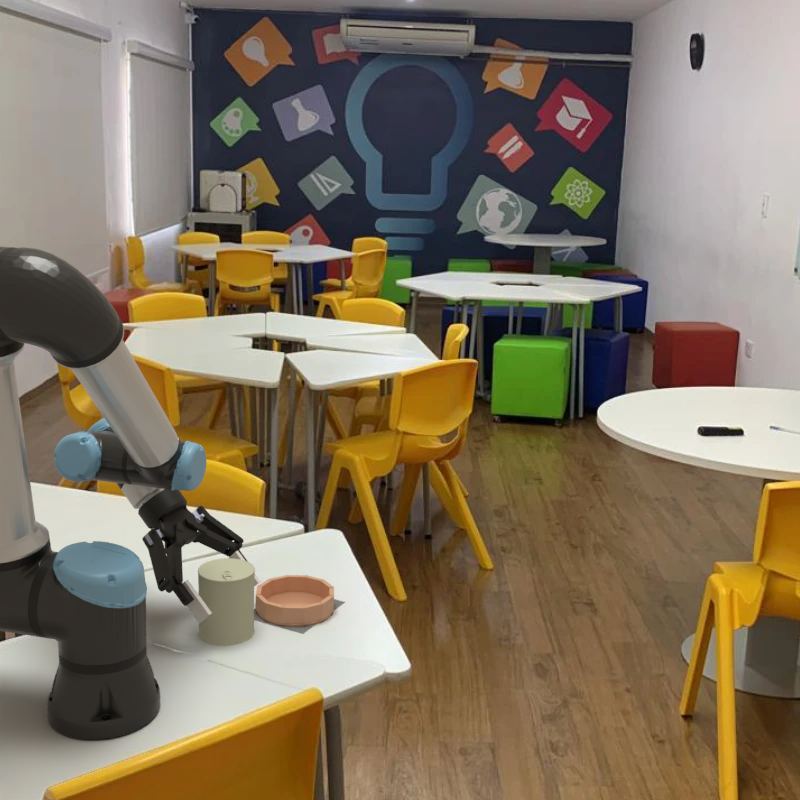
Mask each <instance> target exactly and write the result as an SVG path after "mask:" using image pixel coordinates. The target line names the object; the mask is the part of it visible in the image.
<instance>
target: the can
mask: <svg viewBox="0 0 800 800" xmlns="http://www.w3.org/2000/svg"><path fill="white" fill-rule="evenodd" d="M247 561H248V560H247ZM247 561H245V560H241V559H232V558H229V557H227V558H217V559H212V560H208V561H206V562H204V563H202V564H201V565H199V567H198V569H197V576H198V577H197V578H198V581H197V582H198V584H197V585H198V594H199V596H200V597H201V598H202V600H203V601H204V603H205V604H206V605H207V607H208V608H209V610H210V611H211V612H212V614H210V615H209V616H208V617H207V618H206V619H204V620H203V621H202V622H201V623H199V622H198V631H197V636H198V638H199V639H200V640H201V641H203V643H206V644H209V645H212V646H220V647H221V646H224V647H226V646H228V647H229V646H235V645H240V644H243V643H245V642H247V641H250V640H251V639H252V638H253V636H254V635H255V620H254V609H255V587H254V575H255V574H256V568H255V566H254V565H253V564H252V563H251V562H250V561H248V562H247Z"/></svg>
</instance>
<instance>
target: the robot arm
mask: <svg viewBox="0 0 800 800" xmlns="http://www.w3.org/2000/svg"><path fill="white" fill-rule="evenodd" d="M124 335H125V328H124V324H123V321H122V320H121V318H120V316H119V315H118V313H117V311H116V309H115V307H114V305H112V303H111V302H110V301H109V299H108V297H107V296H106V295H105V293H103V292H102V291H101V289H99V287H98V286H97V285H95V284H94V283H93V282H92V281H91V280H90V279H89V277H87V276H86V275H85V274H83V273H82V272H81V271H80V270H79V269H78V268H76V267H75V266H73V265H72V264H71V263H69V262H68V261H66V260H65V259H63V258H61V257H59V256H57V255H55V254H53V253H51V252H48V251H46V250H42V249H39V248H33V247H23V246H22V247H9V246H0V632H5V633H12V634H18V635H24V636H31V637H37V638H43V639H44V638H45V639H48V640H49V639H50V640H56V641H57V648H58V666H57V670H56V672H55V675H54V678H53V679H54V680H53V682H52V687H51V690H50V692H49V693H48V694H49V695H48V696H47V697H48V698H47V703H46V705H47V707H46V708H47V720H48V723H49V725H50V727H52V728H53V730H54V731H56V732H57V733H60V734H61V735H64V736H66V737H70V738H72V739H73V738H74V739H80V740H107V739H113V738H117V737H118V738H119V737H120V736H121V737H122V736H124V735H128V734H131V733H133V732H135V731H137V730H140V729H141V728H143V727H145V726H147V725H148V724H149V723H150V722H151V721H153V720H154V719H155V717H156V716H157V715H158V714H159V711H160V710H161V709H160V708H161V689H160V685H159V682H158V680H157V679H156V678H155V674H154V670H153V667H152V665H151V663H150V662H151V661H150V660H149V657H148V654H147V650H148V649H147V606H146V605H147V590H148V587H147V582H146V576H145V567H144V565H143V564H144V563H143V562H142V560H141V558H140V557H139V556H138V555H137V554H136V553H135V552H134V551H133V550H131V549H129V548H127V547H125V546H122V545H120V544H117V543H112V542H109V541H108V542H107V541H101V540H97V541H96V540H95V541H94V540H93V541H92V542H88V541H81V542H80V541H79V542H75V543H71V544H68V545H66V546H64V547H63V548H61V549H60V550H59V551H54V550H52V545H51V539H50V531H49V529H48V528H47V527H46V526H45V525H44V524H42V523H40V522H39V521H37V520H36V514H35V506H34V500H33V492H32V485H31V478H30V477H31V476H30V470H29V463H28V462H29V461H28V455H27V448H26V441H25V435H24V427H23V426H24V425H23V418H22V412H21V411H22V410H21V405H20V404H21V403H20V397H19V390H18V383H17V375H16V374H17V373H16V368H15V359H16V358H17V356H19V354H20V353H21V352H22V351H23V350H24V349H25V344H27V345H31V346H33V347H34V346H35V347H38V348H41V349H43V350H45V351H46V352H48V353H49V354H50V355H51V357H52V358H53V360H55V362H56V363H58V364H59V365H60V366H61V367H64V368H66V369H70V370H71V371H72V373H73V374H74V376H75V378H76V380H78V381H79V383H80V385H81V386H82V387H83V389H84V390H85V392H86V393H87V395H88V396H89V397H90V399H91V401H92V402H93V404H94V405H95V406H96V408H97V410H98V412H100V414H101V416H102V417H103V418H101V419H99V420H98V421H97V422H95V423H94V424H92V425H91V426H90V427H89V428H88V429H87V431H84V430H83V431H82V430H81V431H78V432H74V433H69V434H67V435H66V436H64V437H62V438H61V440H59V442H58V443H57V445H56V447H55V449H54V452H53V462H54V466H55V468H56V470H57V471H56V472H57V473H58V474H59V475H60V476H61V477H62V478H63V479H65V480H67V481H70V482H74V483H76V482H77V483H80V482H81V483H88V482H90V481H99V482H104V483H105V482H106V483H113V484H114V483H115V484H116V485H117V486H118V489H120V490H121V492H122V494H123V495H124V496H125V498H126V499H127V501H128V503H130V505H131V506H132V508H133V509H135V510H138V513H137V514H138V515H139V517H140V518H141V520H142V521H143V522H144V524H145V526H146V527H147V528H148V529H150V530H149V531H148V532H147V533H146V534H145V535H144V536H142V541H143V543H144V545H145V546H146V548H147V550H148V555H149V558H150V561H151V566H152V570H153V574H154V577H155V581H156V584H157V588H158V590H159V591H160V592H164V591H165V592H166V593H167V594H170V593H172V592H174V594H175V596H176V597H177V599H178V600H179V601H180V602H181V604H182V605H183V606H185V607H187V608H188V610H189V611H190V612H191V614H192V616H193V617H194V618H195V619H196V621H197V622H198V624H199V623H201V622H202V621H203V620H204V619H206V618H207V617H208V616H209V615H210V614H212V612H211V611H210V610H209V608H208V607H207V605H206V604H205V603H204V601H203V600H202V598H201V597H200V596H199V592H197V590H196V589H195V588H194V586H193V585H192V584H191V582H190V580H189V579H186V580H185V581H184V577H183V576H184V575H183V553H182V552H183V550H182V548H183V547H185V546H186V545H189V544H190V543H194V544H196V543H199V544H201V545H203V546H206V547H208V548H209V549H212V550H213V551H216V552H218V553H220V554H222V555H224V556H227V558H232V559H241V560H245V561H247V562H249V561H248V559H247V558H246V557H245V556H244V554H243V552H241V548H243V543H244V538H243V537H241V536H240V535H238V534H237V533H236V532H235V531H233V530H232V529H231V528H229V527H228V526H226V525H225V524H223V523H222V522H221V521H219V520H218V519H216V518H215V517H214V516H212V515H211V514H210V513H209V512H208V511H207V509H206V508H205V507H204V506H203V505H199V506H198V507H197V508H195V510H194V511H193V512H191V511H190V510H189V509H188V508H187V503H188V502H187V499H186V498H185V496H184V495H183V493H182V492H181V491H186V492H192V491H195V490H197V489H198V487H200V486H201V483H203V479H204V478H205V475H206V470H207V454H206V453H207V452H206V451H205V449H204V447H203V446H202V445H201V444H199V443H198V442H193V441H192V442H191V441H190V440H186V441H185V440H184V441H183V440H181V439H180V437H179V435H178V434H177V432H176V429H175V428H174V426H173V425H172V423H171V421H170V420H169V417H168V416H167V414H166V413H165V411H164V409H163V408H162V407H163V406H162V405H161V404H160V402H159V400H158V399H157V397H156V395H155V393H154V392H153V390H152V388H151V386H150V385H149V383H148V381H147V380H146V378H145V376H144V374H143V372H142V371H141V369H140V367H139V365H138V364H137V362H136V359H134V356H133V355H132V353H131V351H130V350H129V348H128V346H127V345H126V343H125V340H124V337H125V336H124ZM260 582H261V583H262V581H261V580H260V578H259V577H258V576H257V574H256V573H255V575H254V588H255V587H257V586H258V584H259V583H260Z"/></svg>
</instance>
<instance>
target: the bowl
mask: <svg viewBox="0 0 800 800" xmlns="http://www.w3.org/2000/svg"><path fill="white" fill-rule="evenodd" d="M256 587H257V588H256V593H255V608H256V611H257V614H258V616H259V617H260V618H262V619H263V620H265V621H266V622H269V623H272V624H275V625H279V626H287V627H302V626H309V625H314V624H316V625H317V624H320V623H323V622H325V621H326V620H327V619H329V618H330V617H331V616H332V615H333V614H334V611H335V610H334V599H335V587H334V585H332V584H330V583H329V582H328V581H326V580H325V579H323V578H319V577H315V576H312V575H307V574H306V575H305V574H301V575H299V574H285V575H281V576H275V577H271V578H268V579H266V580H265V581H263V582H261V583H260V584H259V585H258V584H257V585H256ZM314 626H315V625H314Z"/></svg>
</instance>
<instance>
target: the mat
mask: <svg viewBox="0 0 800 800" xmlns="http://www.w3.org/2000/svg"><path fill="white" fill-rule="evenodd" d="M345 603H346V601H343V600H339V599H335V598H334V611H336V610H337V609H338V608H339V607H341V606H342V605H343V604H345ZM254 621H256V622H259V623H263V624H265V625H266V624H267V625H270V626H274V627H278V628H281V629H284V630H287V631H290V632H295V633H299V634H302V635H304V634H305V633H306V632H307V631H309V630H310V629H311V628H313V627H315V625H317V624H314V625H309V626H302V627H287V626H279V625H275V624H272V623H269V622H266V621H265V620H263V619H262V618H260V617H259V616H258V614H257V611H256V607H254Z"/></svg>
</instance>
